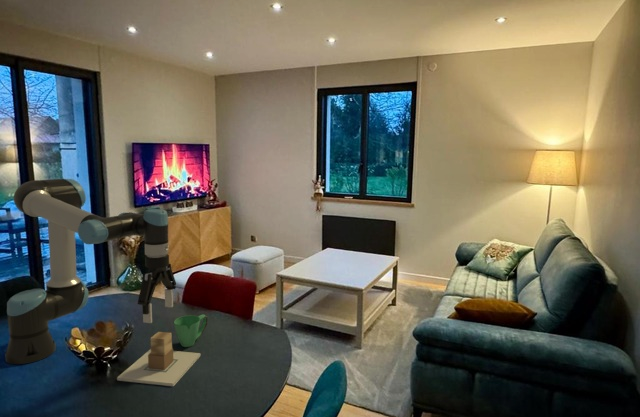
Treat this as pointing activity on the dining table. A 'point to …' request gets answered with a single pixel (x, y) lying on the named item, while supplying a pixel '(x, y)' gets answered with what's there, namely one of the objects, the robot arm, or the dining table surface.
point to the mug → (189, 328)
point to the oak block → (161, 343)
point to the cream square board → (160, 368)
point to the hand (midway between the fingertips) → (158, 314)
